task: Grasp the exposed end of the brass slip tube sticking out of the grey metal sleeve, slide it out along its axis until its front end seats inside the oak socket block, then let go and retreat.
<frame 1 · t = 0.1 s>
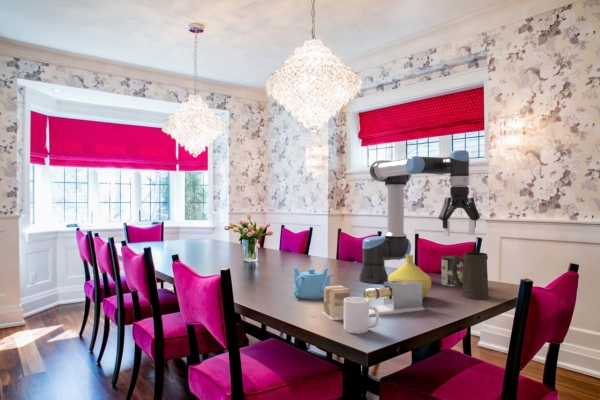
hand: (459, 235, 171), 28 cm above the table, fingers open, 13 cm apart
vase: (409, 298, 175), on the table
sleeve: (401, 308, 158), resting on base rail
coffee can: (451, 284, 204), on the table
cup: (361, 331, 131), on the table
socket block: (337, 315, 148), resting on base rail
beer stein: (469, 296, 179), on the table
teapot: (313, 296, 179), on the table
slip tube: (388, 292, 156), point 7 cm above the table, slide at 0.0 cm
base rail: (374, 311, 154), on the table
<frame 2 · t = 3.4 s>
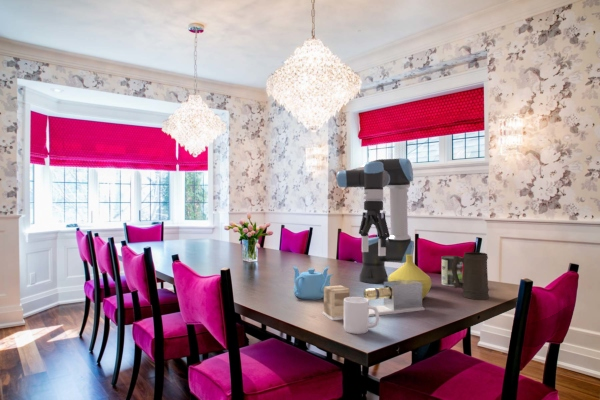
hand: (373, 253, 158), 22 cm above the table, fingers open, 13 cm apart
nothing on the table moved.
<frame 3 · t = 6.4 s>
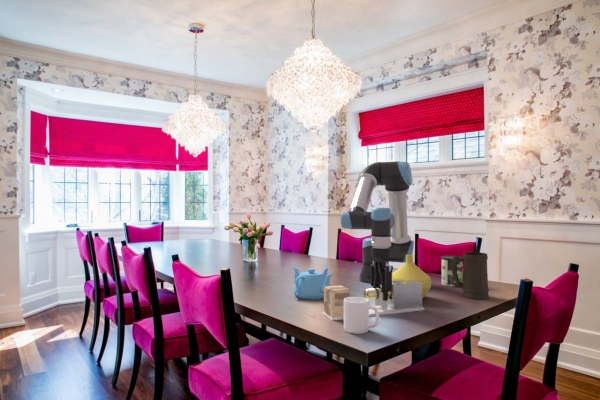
hand: (380, 306, 155), 2 cm above the table, fingers closed on slip tube, 4 cm apart
slip tube: (388, 292, 156), point 7 cm above the table, slide at 0.0 cm, touching gripper
everything else where it was.
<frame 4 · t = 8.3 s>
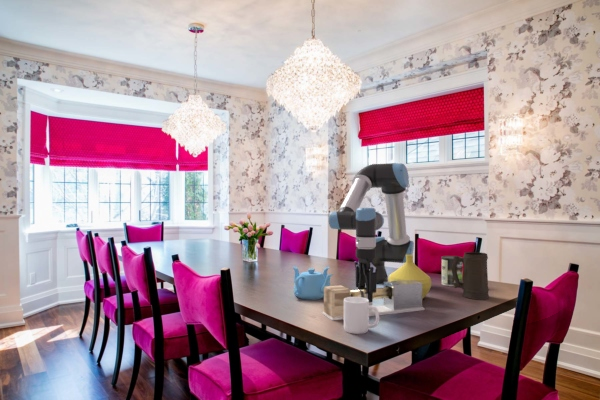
hand: (365, 308, 152), 2 cm above the table, fingers closed on slip tube, 4 cm apart
slip tube: (373, 293, 153), point 7 cm above the table, slide at 6.7 cm, touching gripper
everything else where it was.
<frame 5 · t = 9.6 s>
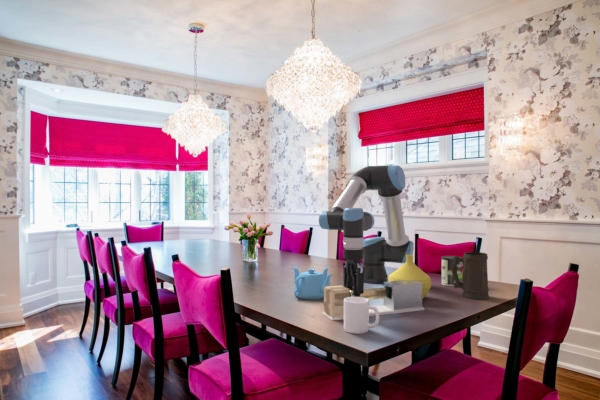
hand: (353, 309, 150), 2 cm above the table, fingers closed on slip tube, 4 cm apart
slip tube: (361, 294, 152), point 7 cm above the table, slide at 12.1 cm, touching gripper
everything else where it was.
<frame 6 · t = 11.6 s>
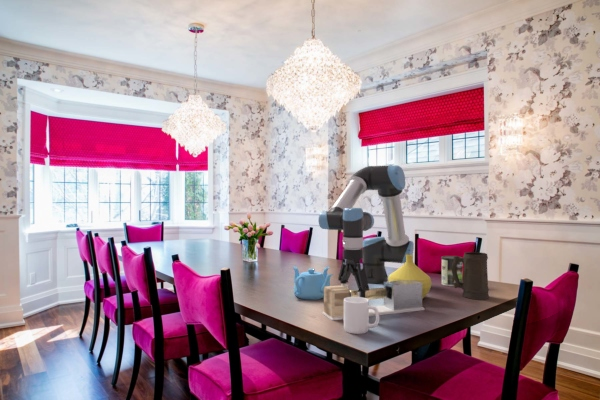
hand: (352, 304, 150), 4 cm above the table, fingers open, 13 cm apart
slip tube: (361, 294, 152), point 7 cm above the table, slide at 12.0 cm
everything else where it was.
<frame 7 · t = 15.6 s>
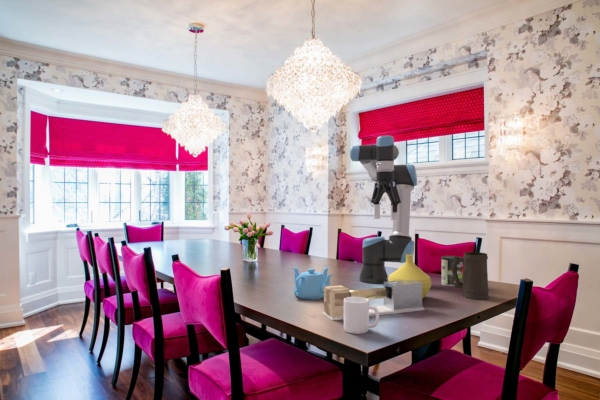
hand: (385, 219, 175), 35 cm above the table, fingers open, 13 cm apart
nothing on the table moved.
at the end: slip tube slide at 12.0 cm; the gripper is holding nothing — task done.
